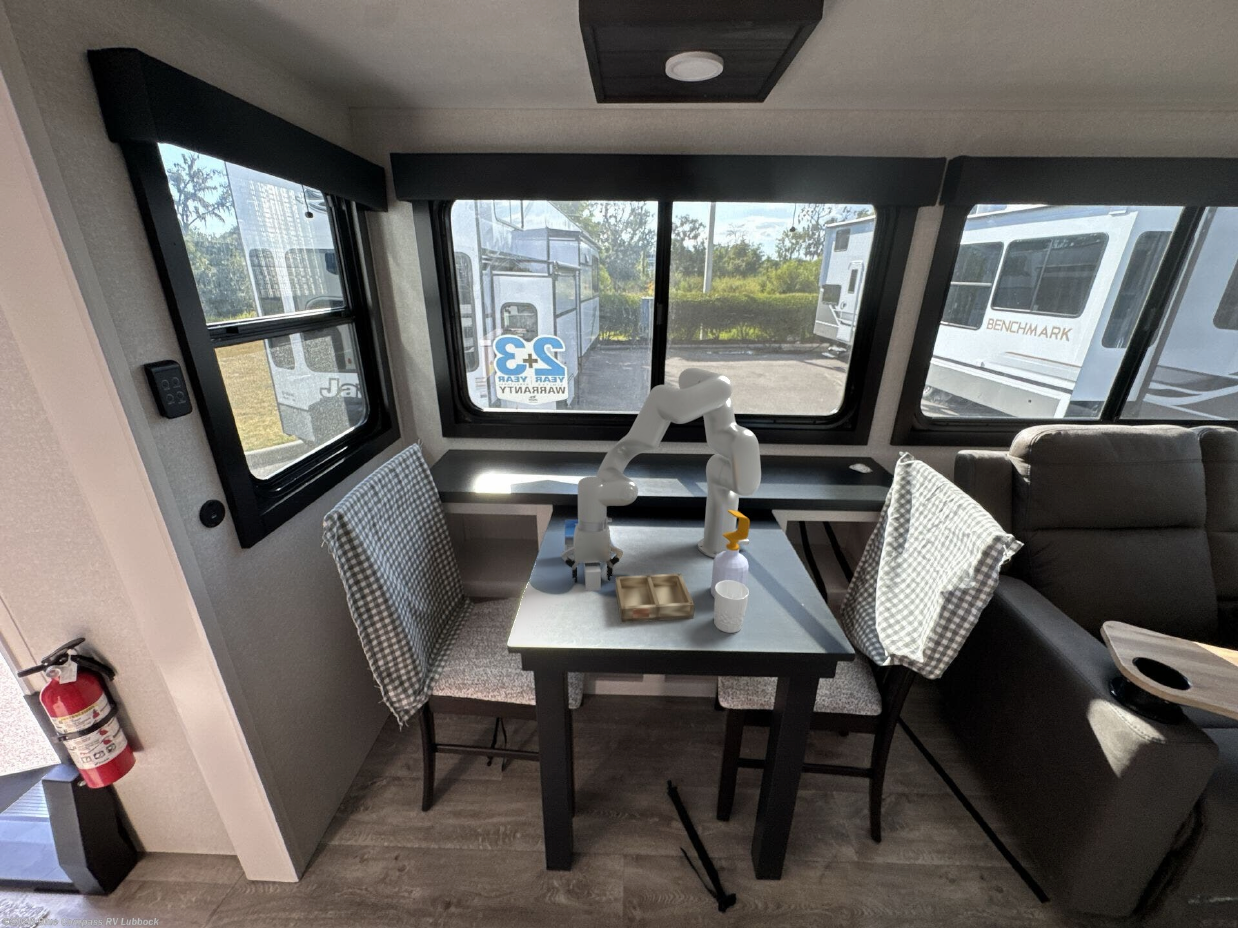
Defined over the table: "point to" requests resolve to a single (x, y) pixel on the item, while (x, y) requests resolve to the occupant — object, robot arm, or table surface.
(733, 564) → the spray bottle
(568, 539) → the label tape box
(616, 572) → the table surface
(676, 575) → the wooden compartment tray
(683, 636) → the table surface
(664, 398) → the robot arm
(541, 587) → the table surface
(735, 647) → the table surface
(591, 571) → the grey banded white block
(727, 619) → the white cup
